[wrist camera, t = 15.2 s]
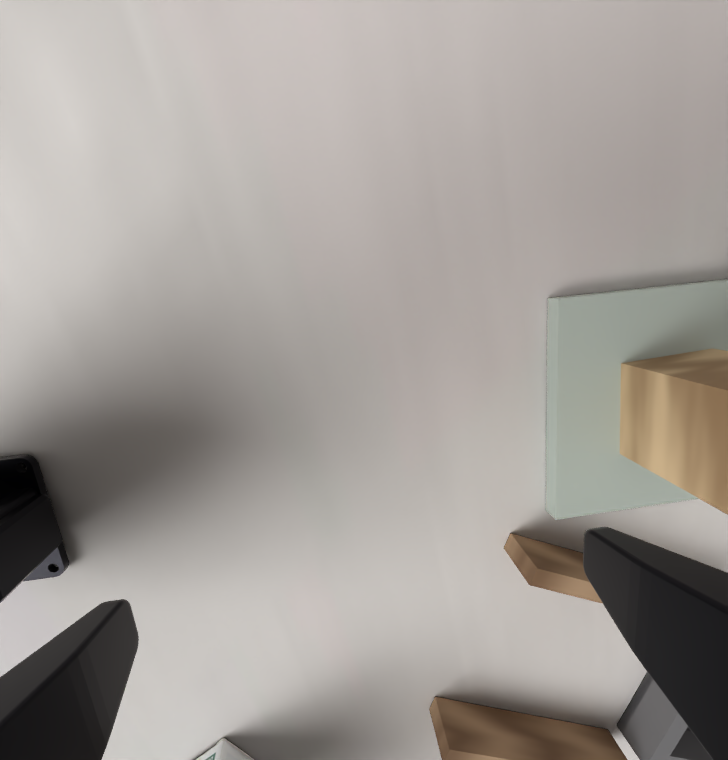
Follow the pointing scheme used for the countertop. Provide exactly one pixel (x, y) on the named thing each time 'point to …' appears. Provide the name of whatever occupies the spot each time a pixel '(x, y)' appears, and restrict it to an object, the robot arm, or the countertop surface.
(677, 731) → the tray
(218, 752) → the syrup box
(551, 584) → the walnut lane
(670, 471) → the oak block
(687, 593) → the robot arm
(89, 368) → the countertop surface
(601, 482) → the pad
